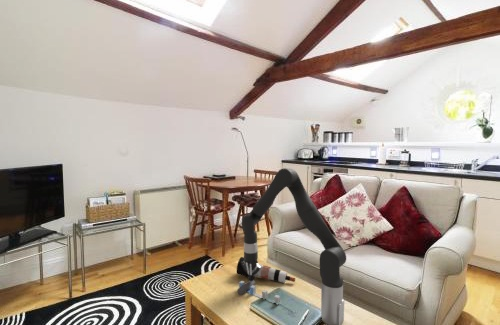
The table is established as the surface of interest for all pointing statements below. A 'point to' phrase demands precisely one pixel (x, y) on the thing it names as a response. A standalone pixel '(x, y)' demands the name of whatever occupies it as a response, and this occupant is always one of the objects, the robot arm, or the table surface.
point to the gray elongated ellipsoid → (245, 287)
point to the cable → (266, 273)
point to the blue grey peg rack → (253, 292)
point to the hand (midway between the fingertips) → (251, 280)
